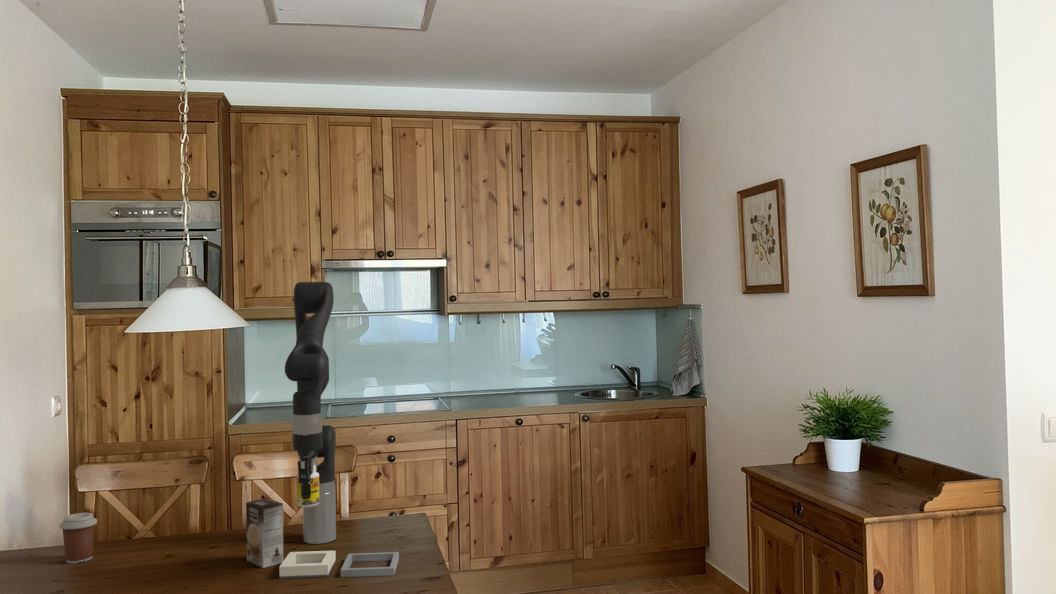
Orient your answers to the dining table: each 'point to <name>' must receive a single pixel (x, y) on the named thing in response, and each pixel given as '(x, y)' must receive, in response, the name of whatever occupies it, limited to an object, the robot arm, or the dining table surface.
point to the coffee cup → (78, 536)
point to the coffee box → (264, 532)
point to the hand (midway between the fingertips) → (308, 495)
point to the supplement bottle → (314, 491)
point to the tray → (372, 571)
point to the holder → (307, 564)
